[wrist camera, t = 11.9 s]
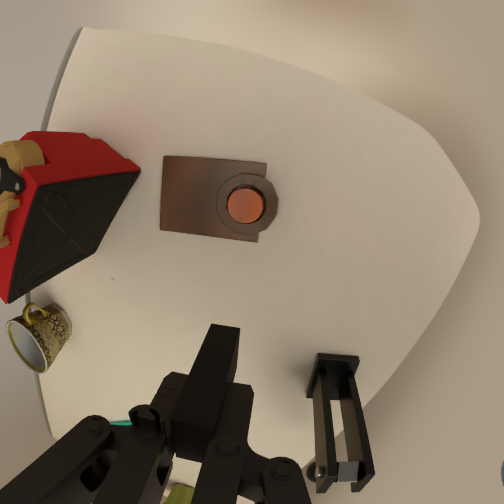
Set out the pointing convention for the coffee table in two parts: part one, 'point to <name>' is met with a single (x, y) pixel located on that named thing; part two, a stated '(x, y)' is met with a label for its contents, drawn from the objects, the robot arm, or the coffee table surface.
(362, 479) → the bracket
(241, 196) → the button
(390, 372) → the coffee table surface
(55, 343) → the ceramic cup
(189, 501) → the plant pot
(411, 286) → the coffee table surface
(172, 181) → the button block
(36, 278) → the jerry can
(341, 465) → the lever
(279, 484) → the robot arm
